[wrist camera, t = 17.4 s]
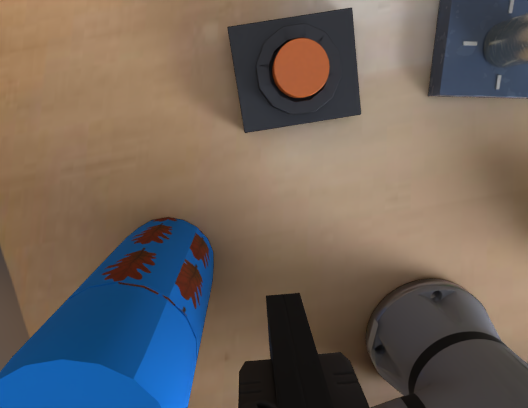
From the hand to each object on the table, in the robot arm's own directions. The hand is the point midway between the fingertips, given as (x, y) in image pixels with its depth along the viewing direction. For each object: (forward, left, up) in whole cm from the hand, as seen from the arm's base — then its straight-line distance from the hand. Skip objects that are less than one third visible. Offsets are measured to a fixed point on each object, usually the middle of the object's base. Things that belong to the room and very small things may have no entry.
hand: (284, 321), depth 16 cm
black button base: (+6, -12, -26) cm, 30 cm away
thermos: (+3, +13, -27) cm, 30 cm away
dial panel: (-8, -28, -26) cm, 39 cm away
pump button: (+6, -12, -22) cm, 26 cm away
